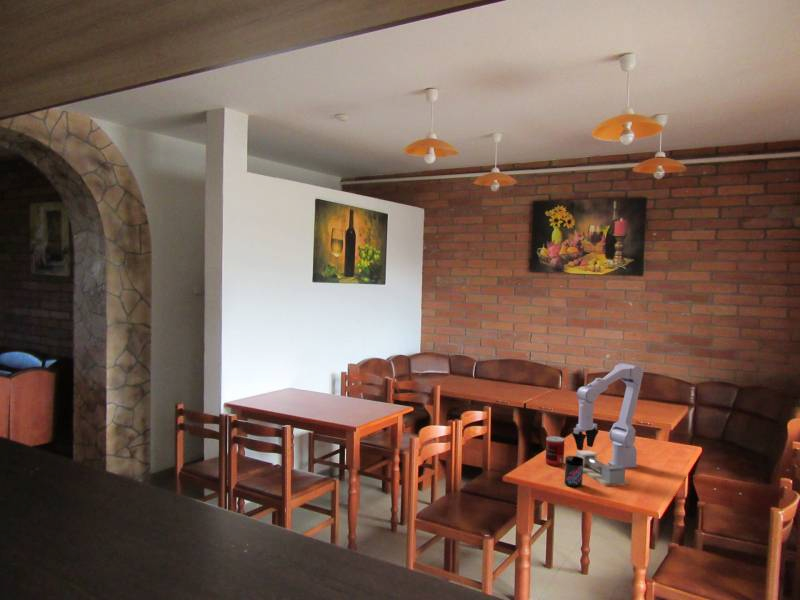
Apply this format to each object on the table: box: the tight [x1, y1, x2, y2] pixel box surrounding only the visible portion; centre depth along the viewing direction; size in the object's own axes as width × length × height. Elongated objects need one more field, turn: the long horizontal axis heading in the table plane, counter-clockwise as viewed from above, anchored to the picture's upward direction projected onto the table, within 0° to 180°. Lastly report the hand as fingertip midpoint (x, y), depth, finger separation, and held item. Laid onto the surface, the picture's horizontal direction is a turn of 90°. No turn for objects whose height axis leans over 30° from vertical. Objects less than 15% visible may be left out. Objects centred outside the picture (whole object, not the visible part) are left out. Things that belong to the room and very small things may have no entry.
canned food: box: [545, 435, 565, 467], centre depth 249 cm, size 8×8×11 cm
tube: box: [584, 456, 606, 474], centre depth 241 cm, size 19×4×4 cm, turn 14°
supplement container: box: [564, 455, 584, 489], centre depth 224 cm, size 7×7×10 cm
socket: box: [602, 464, 626, 483], centre depth 227 cm, size 5×7×5 cm
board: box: [583, 464, 630, 487], centre depth 237 cm, size 27×10×1 cm, turn 14°
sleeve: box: [575, 450, 598, 467], centre depth 246 cm, size 5×7×5 cm
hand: (584, 448), depth 240 cm, fingers open, 7 cm apart
